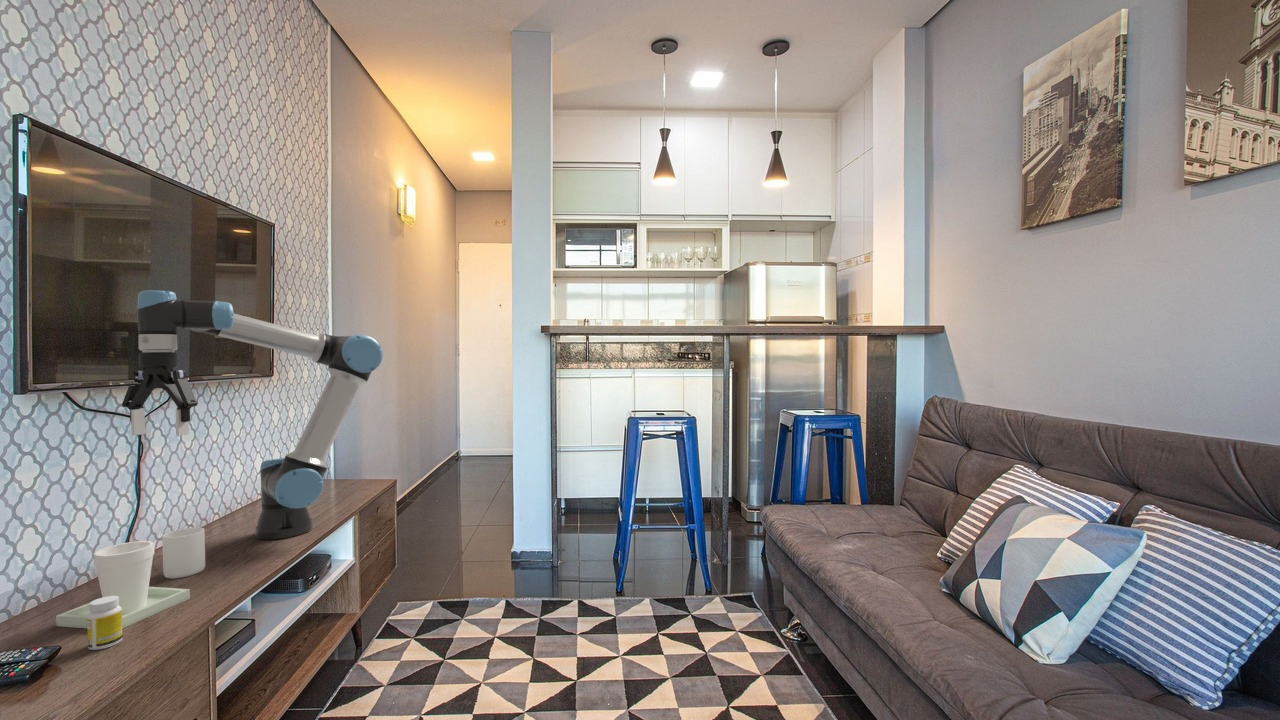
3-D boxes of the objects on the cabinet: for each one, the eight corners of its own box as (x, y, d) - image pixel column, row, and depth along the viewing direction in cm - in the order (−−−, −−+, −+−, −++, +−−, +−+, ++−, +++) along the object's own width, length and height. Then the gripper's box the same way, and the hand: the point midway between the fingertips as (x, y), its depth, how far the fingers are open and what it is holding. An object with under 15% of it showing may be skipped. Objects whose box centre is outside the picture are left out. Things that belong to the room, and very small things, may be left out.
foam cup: (84, 621, 114) (82, 558, 114) (113, 602, 123) (111, 543, 123) (140, 615, 117) (138, 552, 117) (164, 596, 126) (163, 539, 126)
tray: (135, 594, 129) (134, 585, 129) (189, 598, 126) (189, 589, 126) (56, 625, 114) (56, 615, 114) (116, 631, 111) (116, 620, 111)
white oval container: (176, 564, 147) (175, 525, 147) (214, 559, 150) (213, 521, 150) (157, 581, 136) (156, 539, 136) (199, 575, 139) (198, 534, 139)
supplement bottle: (129, 637, 109) (128, 594, 109) (107, 650, 104) (105, 605, 104) (104, 638, 108) (102, 595, 108) (80, 651, 104) (79, 605, 104)
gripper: (102, 352, 142) (104, 436, 142) (184, 350, 137) (187, 437, 137) (133, 352, 149) (135, 432, 149) (213, 350, 144) (215, 433, 145)
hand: (160, 434), depth 143 cm, fingers open, 13 cm apart
